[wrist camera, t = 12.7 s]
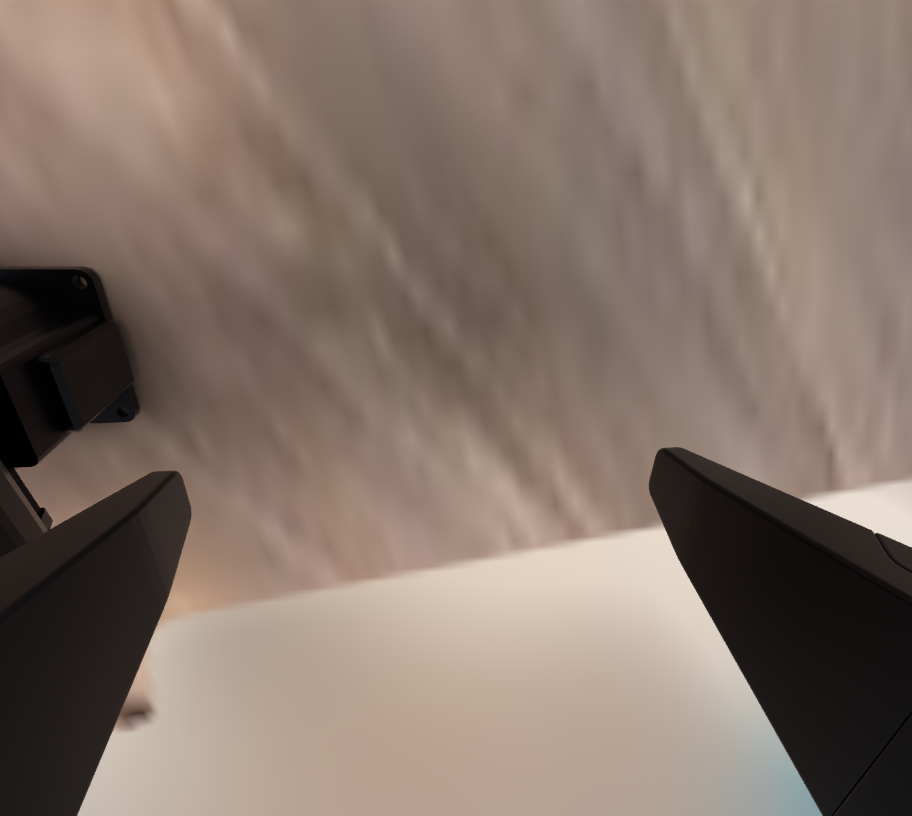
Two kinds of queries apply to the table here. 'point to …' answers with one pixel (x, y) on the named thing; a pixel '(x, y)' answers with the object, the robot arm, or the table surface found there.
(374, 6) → the table surface
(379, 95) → the table surface
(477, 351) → the table surface
